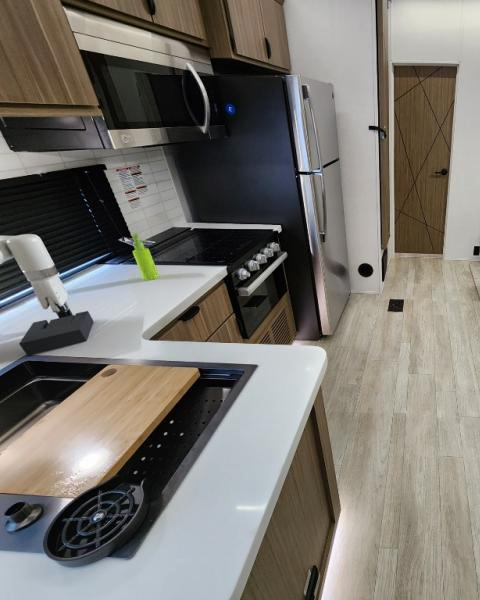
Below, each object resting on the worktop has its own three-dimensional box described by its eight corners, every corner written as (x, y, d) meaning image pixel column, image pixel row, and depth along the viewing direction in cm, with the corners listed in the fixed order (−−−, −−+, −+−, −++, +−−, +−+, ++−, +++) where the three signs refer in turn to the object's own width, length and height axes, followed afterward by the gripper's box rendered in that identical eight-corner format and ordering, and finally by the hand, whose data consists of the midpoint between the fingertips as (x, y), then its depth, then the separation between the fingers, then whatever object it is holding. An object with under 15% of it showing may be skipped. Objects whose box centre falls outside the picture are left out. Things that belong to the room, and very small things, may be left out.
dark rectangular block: (27, 355, 100) (18, 343, 98) (40, 333, 110) (33, 322, 108) (86, 341, 106) (80, 329, 104) (93, 321, 117) (88, 310, 115)
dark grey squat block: (52, 339, 107) (45, 328, 105) (57, 331, 112) (50, 319, 110) (76, 334, 110) (70, 322, 108) (80, 325, 114) (74, 314, 112)
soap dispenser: (157, 273, 154) (140, 231, 145) (160, 277, 150) (144, 234, 141) (142, 277, 151) (124, 234, 141) (145, 281, 146) (127, 237, 137)
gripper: (33, 267, 111) (59, 314, 120) (17, 283, 100) (48, 334, 109) (62, 263, 115) (86, 309, 123) (50, 278, 103) (77, 327, 112)
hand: (68, 320), depth 116 cm, fingers closed
